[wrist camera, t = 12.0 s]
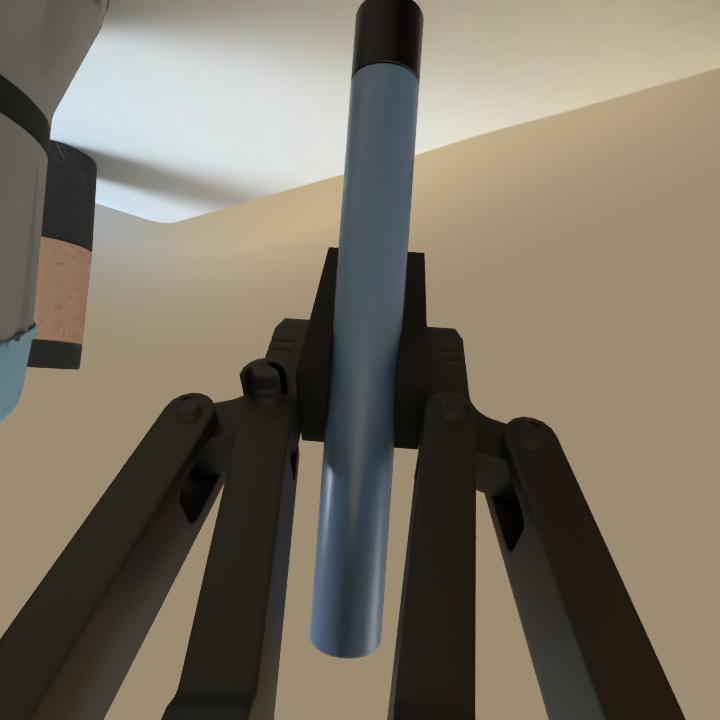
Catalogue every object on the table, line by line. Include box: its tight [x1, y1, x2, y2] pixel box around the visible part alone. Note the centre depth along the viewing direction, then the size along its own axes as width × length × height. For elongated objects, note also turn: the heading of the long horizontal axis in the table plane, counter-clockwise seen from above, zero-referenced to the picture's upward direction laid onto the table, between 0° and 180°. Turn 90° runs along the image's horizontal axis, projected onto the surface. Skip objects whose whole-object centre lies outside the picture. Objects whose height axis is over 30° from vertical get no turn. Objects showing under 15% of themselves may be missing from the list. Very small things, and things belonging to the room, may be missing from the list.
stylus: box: [310, 0, 424, 658], centre depth 14 cm, size 2×2×18 cm
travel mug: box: [27, 140, 97, 369], centre depth 44 cm, size 8×8×20 cm
